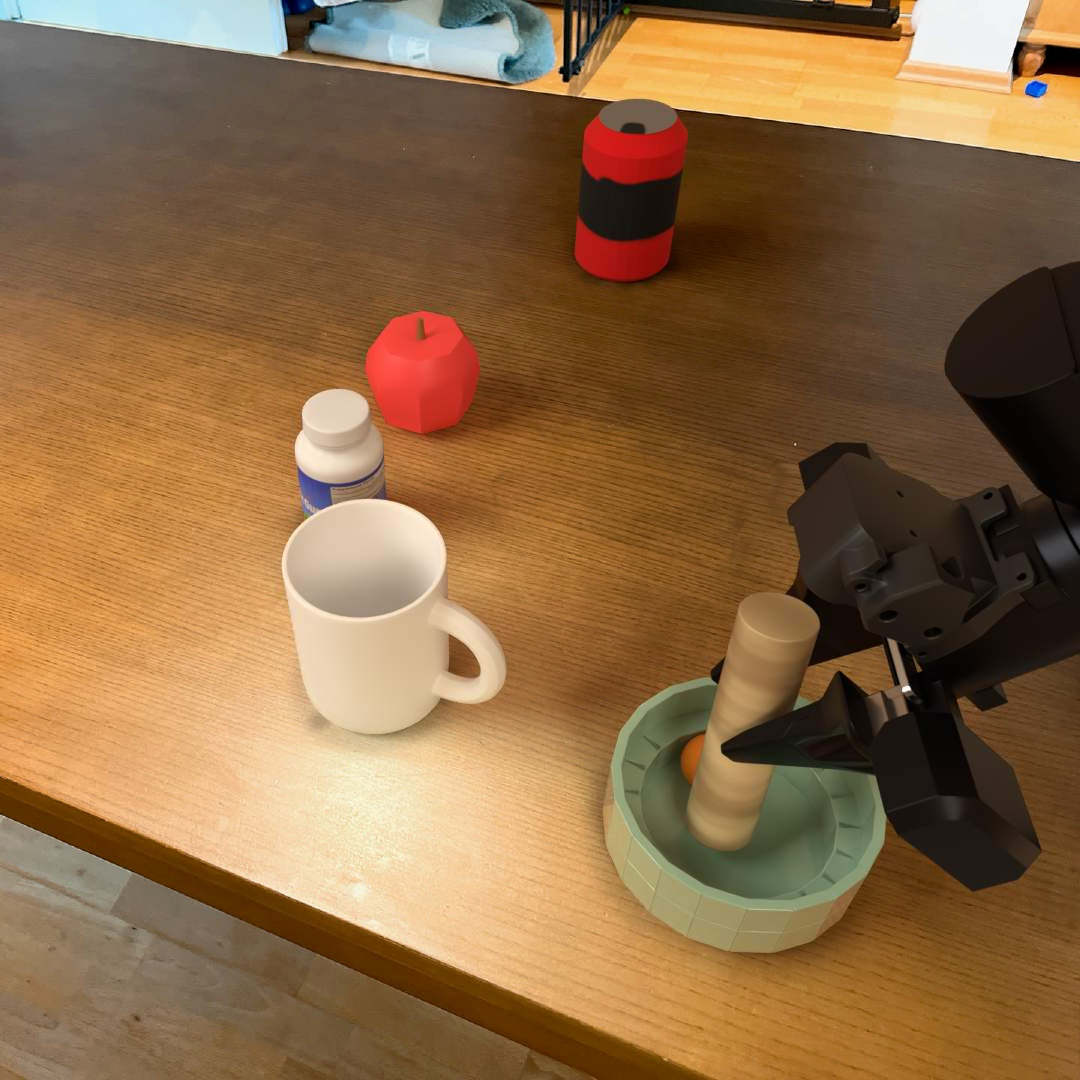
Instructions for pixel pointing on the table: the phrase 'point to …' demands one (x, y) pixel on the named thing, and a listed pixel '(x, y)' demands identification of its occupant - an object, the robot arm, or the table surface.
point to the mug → (380, 618)
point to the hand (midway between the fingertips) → (720, 715)
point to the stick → (749, 714)
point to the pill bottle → (338, 452)
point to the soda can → (629, 189)
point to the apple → (422, 372)
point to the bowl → (750, 872)
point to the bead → (691, 757)
